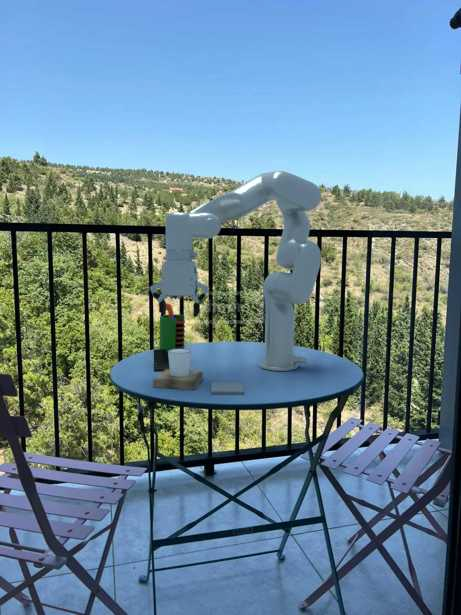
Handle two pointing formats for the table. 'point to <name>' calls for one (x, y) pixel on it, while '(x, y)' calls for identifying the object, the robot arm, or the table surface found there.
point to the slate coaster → (227, 388)
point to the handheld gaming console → (161, 360)
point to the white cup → (179, 362)
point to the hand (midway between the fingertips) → (179, 315)
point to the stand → (178, 380)
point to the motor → (171, 330)
